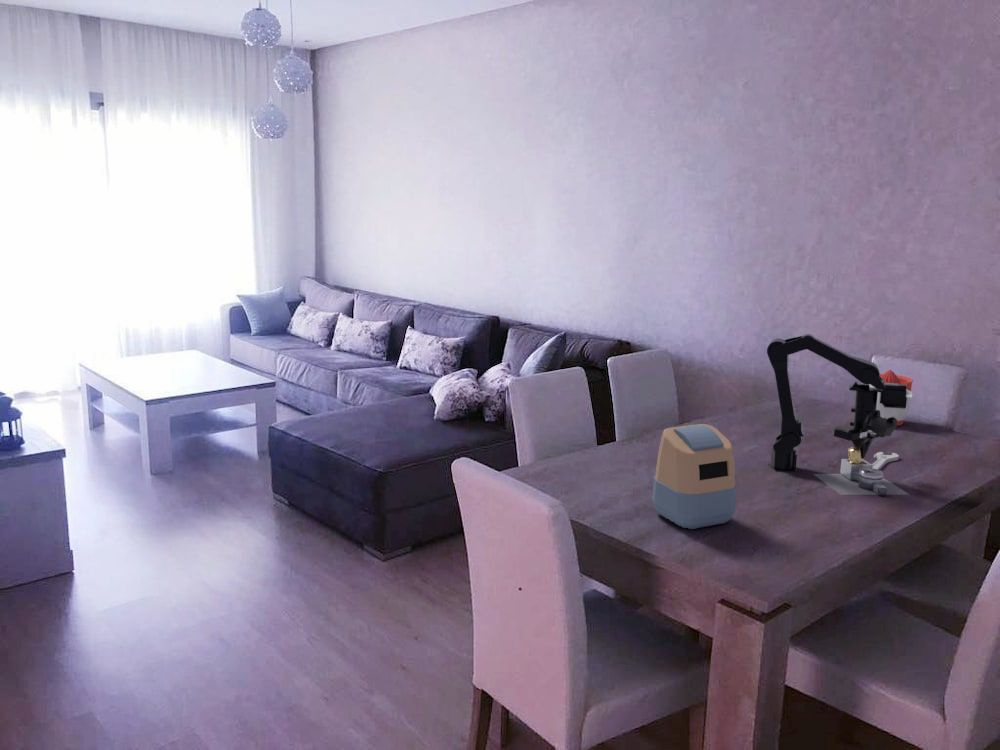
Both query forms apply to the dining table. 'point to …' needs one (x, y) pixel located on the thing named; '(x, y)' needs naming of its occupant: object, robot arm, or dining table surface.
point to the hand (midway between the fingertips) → (861, 458)
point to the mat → (855, 485)
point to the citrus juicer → (902, 413)
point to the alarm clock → (695, 477)
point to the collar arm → (853, 473)
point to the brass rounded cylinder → (854, 455)
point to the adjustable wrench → (883, 459)
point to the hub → (869, 478)
